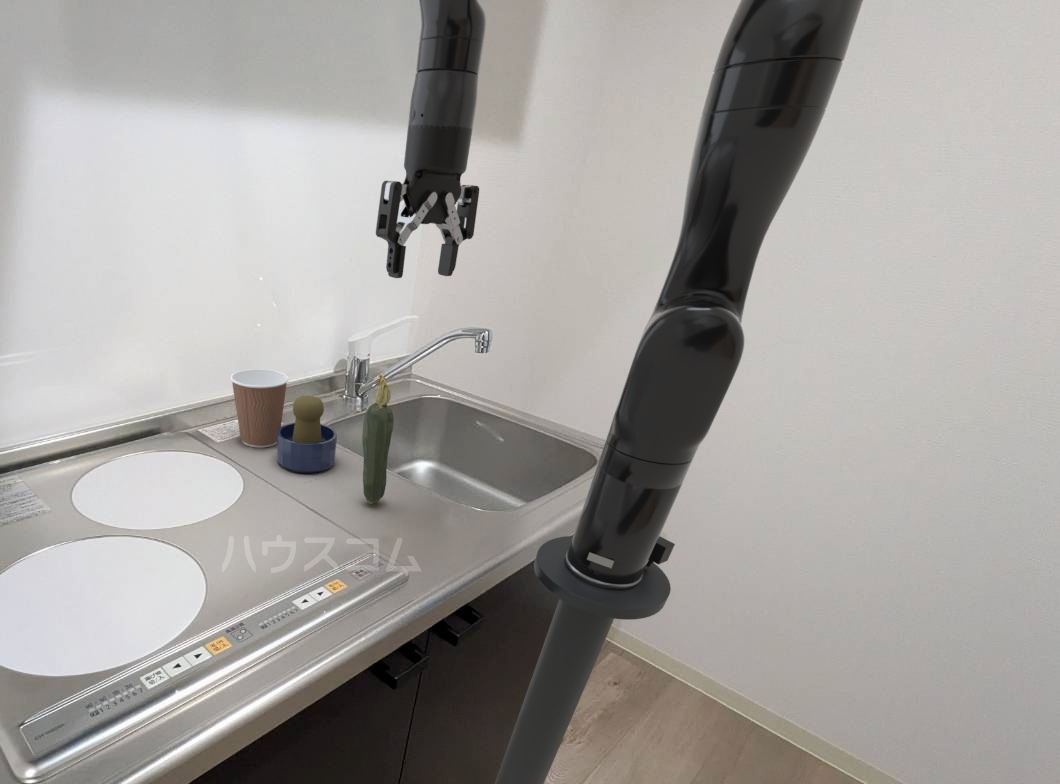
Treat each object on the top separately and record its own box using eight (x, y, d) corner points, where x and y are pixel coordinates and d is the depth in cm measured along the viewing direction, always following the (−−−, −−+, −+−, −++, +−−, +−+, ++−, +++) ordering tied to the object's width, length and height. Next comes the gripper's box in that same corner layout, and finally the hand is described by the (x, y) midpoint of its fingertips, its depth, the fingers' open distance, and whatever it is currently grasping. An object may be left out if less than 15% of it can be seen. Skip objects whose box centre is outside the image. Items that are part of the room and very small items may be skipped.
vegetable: (383, 513, 89) (399, 383, 77) (355, 511, 89) (367, 380, 78) (383, 499, 92) (398, 373, 81) (355, 497, 92) (367, 371, 81)
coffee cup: (296, 436, 112) (297, 374, 105) (272, 455, 104) (272, 389, 97) (249, 426, 115) (247, 365, 108) (222, 444, 107) (219, 379, 100)
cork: (283, 461, 101) (284, 399, 95) (298, 449, 105) (299, 389, 99) (315, 469, 99) (318, 406, 93) (328, 456, 104) (332, 395, 97)
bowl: (315, 446, 108) (316, 418, 105) (346, 468, 101) (348, 438, 98) (266, 456, 104) (266, 427, 101) (295, 479, 97) (295, 448, 94)
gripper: (413, 118, 62) (395, 283, 71) (507, 128, 69) (479, 279, 78) (372, 119, 67) (360, 273, 76) (463, 129, 74) (442, 270, 83)
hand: (420, 276), depth 77 cm, fingers open, 8 cm apart
